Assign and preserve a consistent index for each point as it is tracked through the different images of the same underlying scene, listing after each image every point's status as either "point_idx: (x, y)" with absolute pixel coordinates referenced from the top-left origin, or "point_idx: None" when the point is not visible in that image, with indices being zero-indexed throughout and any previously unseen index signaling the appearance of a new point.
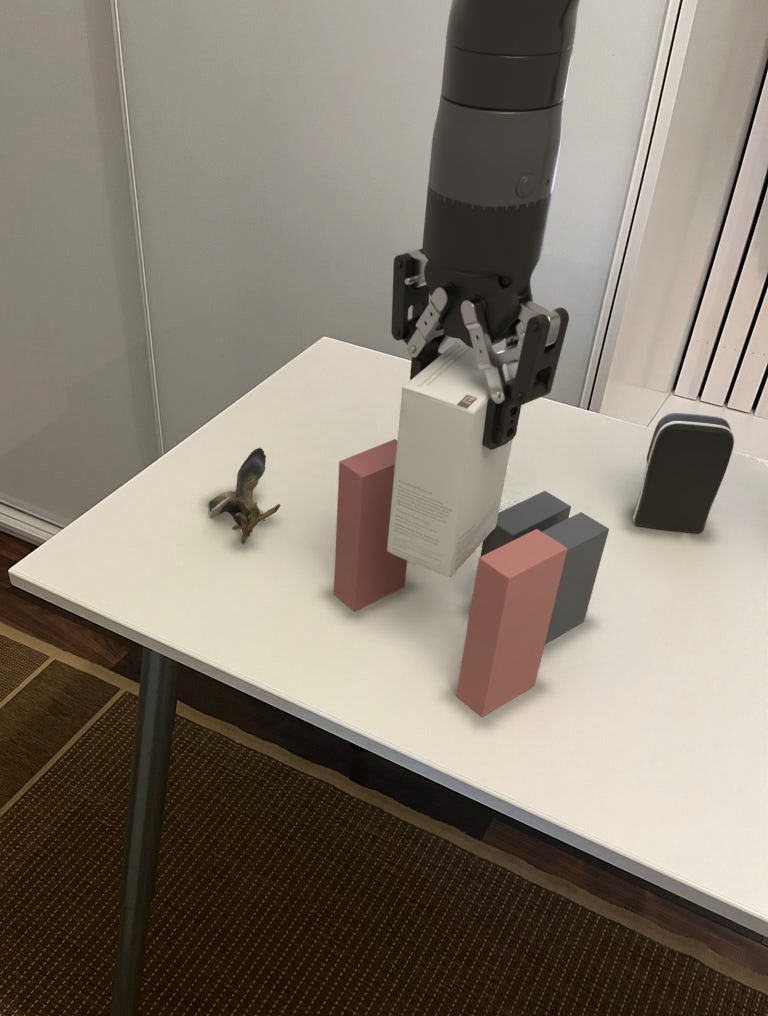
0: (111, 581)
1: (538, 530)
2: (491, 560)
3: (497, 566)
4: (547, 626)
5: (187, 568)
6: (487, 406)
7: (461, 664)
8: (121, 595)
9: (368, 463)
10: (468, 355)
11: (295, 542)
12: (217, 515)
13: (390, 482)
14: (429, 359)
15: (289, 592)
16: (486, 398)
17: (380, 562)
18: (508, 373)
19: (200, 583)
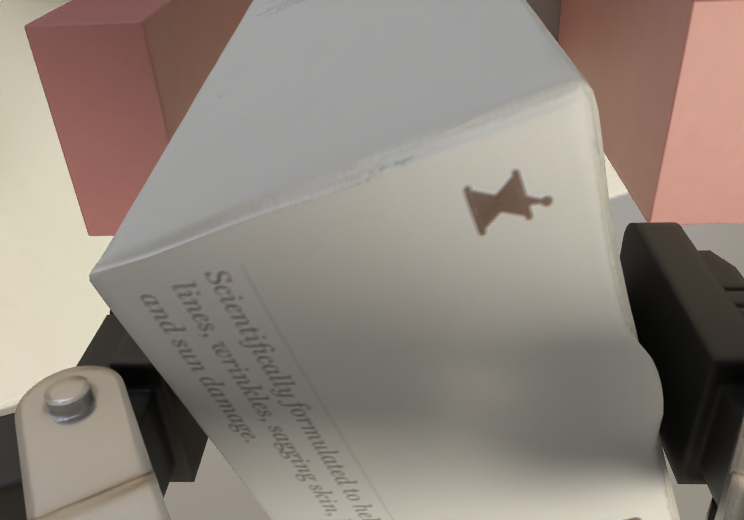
0: (24, 343)
1: (703, 4)
2: (681, 209)
3: (707, 213)
4: None
5: (29, 246)
6: (667, 454)
7: None
8: (64, 345)
9: (130, 182)
10: (288, 335)
11: (14, 45)
12: None
13: (184, 112)
14: (180, 439)
15: None
16: (664, 481)
17: None
18: (730, 460)
19: (78, 248)
